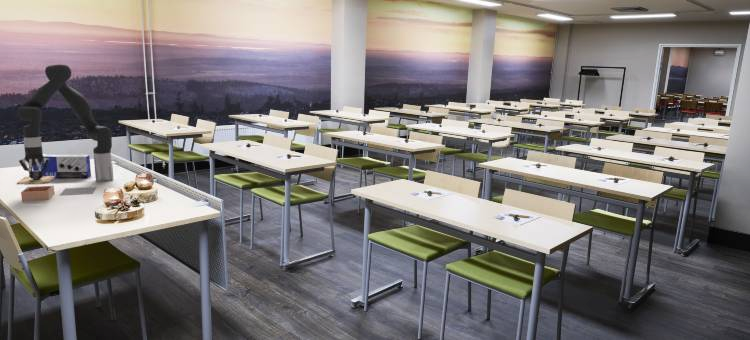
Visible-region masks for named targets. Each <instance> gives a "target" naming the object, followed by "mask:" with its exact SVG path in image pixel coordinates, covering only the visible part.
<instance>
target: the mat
mask: <svg viewBox="0 0 750 340" xmlns="http://www.w3.org/2000/svg"><path fill="white" fill-rule="evenodd" d="M97 188H98V187H97V186H93V187H92V186H89V187H88V186H87V187H73V188H72V187H71V188H70V187H69V188H68V187H67V188H64V190H62V192H61V193H60V194H59V195H58V196H59V197H60V196H77V195H93V194H94V193H95V191H96V190H97Z"/></svg>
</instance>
